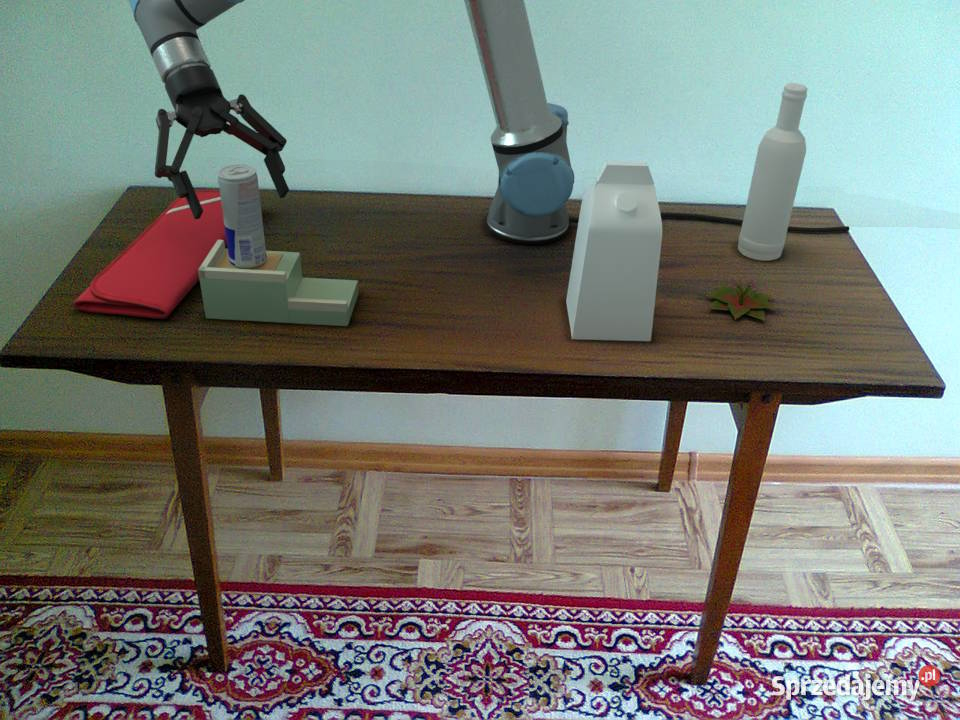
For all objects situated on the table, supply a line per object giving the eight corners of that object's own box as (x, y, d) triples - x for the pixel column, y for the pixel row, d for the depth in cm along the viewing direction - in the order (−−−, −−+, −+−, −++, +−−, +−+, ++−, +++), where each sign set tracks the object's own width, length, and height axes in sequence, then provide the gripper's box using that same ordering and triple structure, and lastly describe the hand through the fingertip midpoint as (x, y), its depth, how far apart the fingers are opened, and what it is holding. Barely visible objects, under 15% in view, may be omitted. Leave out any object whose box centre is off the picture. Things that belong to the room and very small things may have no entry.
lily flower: (782, 296, 152) (788, 272, 149) (772, 331, 143) (779, 306, 140) (709, 281, 155) (714, 257, 153) (696, 314, 146) (700, 289, 144)
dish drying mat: (72, 311, 141) (67, 290, 139) (183, 203, 175) (180, 185, 173) (169, 322, 139) (165, 301, 137) (262, 210, 173) (260, 192, 171)
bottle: (736, 258, 163) (771, 90, 146) (736, 238, 169) (770, 76, 152) (782, 264, 161) (823, 95, 145) (781, 244, 168) (820, 81, 151)
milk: (639, 302, 149) (662, 149, 134) (650, 341, 139) (676, 181, 125) (566, 300, 148) (580, 147, 134) (572, 339, 139) (588, 178, 124)
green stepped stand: (358, 293, 148) (356, 246, 144) (347, 326, 140) (344, 277, 135) (224, 286, 149) (217, 239, 144) (205, 318, 141) (197, 269, 136)
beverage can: (271, 255, 143) (261, 164, 135) (260, 272, 139) (250, 179, 130) (236, 252, 144) (224, 161, 135) (224, 269, 139) (211, 176, 131)
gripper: (258, 76, 146) (311, 195, 145) (101, 103, 134) (157, 234, 132) (270, 50, 140) (325, 175, 139) (106, 76, 127) (164, 214, 126)
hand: (243, 204), depth 135 cm, fingers open, 13 cm apart
